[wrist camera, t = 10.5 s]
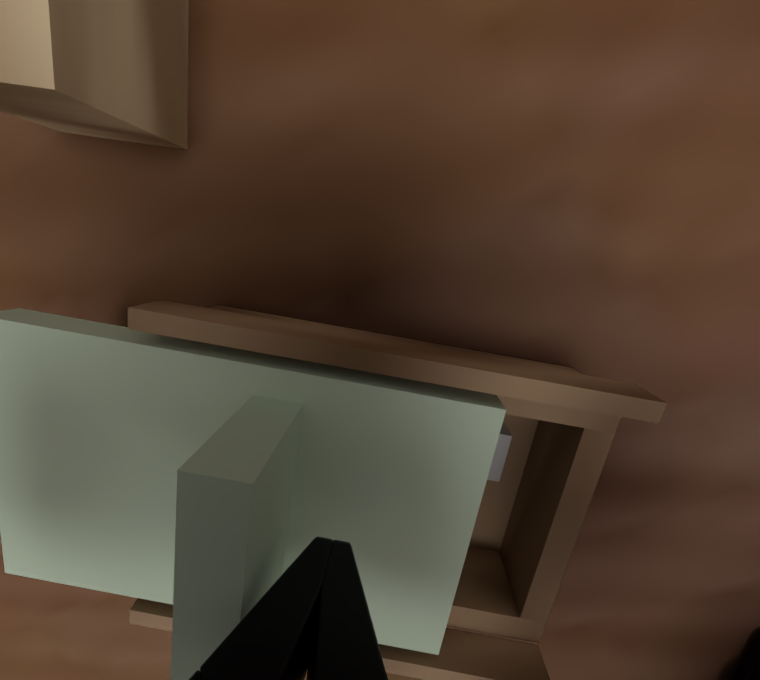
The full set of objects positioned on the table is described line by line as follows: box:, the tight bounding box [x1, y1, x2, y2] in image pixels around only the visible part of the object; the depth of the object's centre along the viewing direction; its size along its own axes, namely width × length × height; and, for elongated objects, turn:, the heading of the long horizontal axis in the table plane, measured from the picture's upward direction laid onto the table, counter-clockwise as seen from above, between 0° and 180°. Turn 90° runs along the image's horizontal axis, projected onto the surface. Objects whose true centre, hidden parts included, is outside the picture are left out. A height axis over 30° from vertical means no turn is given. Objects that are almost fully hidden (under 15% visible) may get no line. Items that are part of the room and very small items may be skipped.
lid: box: [0, 308, 506, 680], centre depth 8 cm, size 12×8×4 cm, turn 80°
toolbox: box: [128, 300, 667, 680], centre depth 11 cm, size 12×9×4 cm
